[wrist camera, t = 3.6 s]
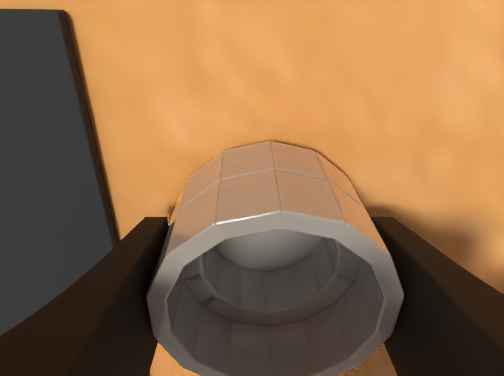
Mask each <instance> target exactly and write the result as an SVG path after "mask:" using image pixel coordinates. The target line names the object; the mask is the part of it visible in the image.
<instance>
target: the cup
mask: <svg viewBox="0 0 504 376" xmlns="http://www.w3.org/2000/svg"><path fill="white" fill-rule="evenodd" d="M146 295H147V297H146V301H147V306H148V311H149V316H150V321H151V326H152V331H153V336H154V337H155V339H156V340H157V341H158V342H159V343H160V344H161V345H162V346H163V347H164V348H165V350H166V351H167V352H168V353H169V354H170V355H171V356H172V357H173V358H174V359H175V360H176V361H177V362H178V363H179V364H180V366H183V368H185V369H188V370H190V371H192V372H194V373H197V374H199V375H201V376H337V375H339V374H342V373H344V372H346V371H348V370H351V369H353V368H355V367H357V366H359V365H360V364H362V363H363V362H364V361H365V360H366V359H367V358H368V357H370V356H371V355H372V354H373V353H374V352H375V351H376V350H377V349H378V348H379V347H380V346H381V345H382V344H383V343H384V342H385V341H386V340H387V339H388V338H389V337H390V336H391V334H392V333H393V330H394V327H395V324H396V321H397V318H398V315H399V312H400V309H401V306H402V303H403V299H404V291H403V288H402V286H401V283H400V280H399V277H398V274H397V271H396V268H395V265H394V262H393V259H392V257H391V254H390V253H389V251H388V249H387V247H386V245H385V244H384V242H383V240H382V238H381V236H380V234H379V233H378V231H377V229H376V227H375V225H374V224H373V222H372V220H371V218H370V216H369V215H368V213H367V211H366V210H365V208H364V206H363V204H362V202H361V200H360V199H359V197H358V195H357V193H356V191H355V190H354V188H353V186H352V184H351V182H350V180H349V179H348V178H347V176H346V175H345V174H344V173H343V172H341V171H340V170H339V169H338V168H336V167H335V166H334V165H333V164H331V163H330V162H329V161H328V160H327V159H325V158H324V157H323V156H322V155H320V154H319V153H317V152H315V151H314V150H311V149H306V148H301V147H297V146H292V145H288V144H283V143H279V142H274V141H271V142H270V141H265V142H260V143H255V144H250V145H245V146H241V147H236V148H231V149H226V150H224V151H223V152H221V153H219V154H218V155H217V156H215V157H214V158H213V159H211V160H210V161H209V162H207V163H206V164H205V165H203V166H202V167H201V168H199V169H198V170H197V171H195V172H194V173H193V174H191V176H190V177H189V178H188V179H187V181H186V183H185V186H184V188H183V190H182V192H181V194H180V196H179V199H178V201H177V203H176V205H175V207H174V210H173V213H172V216H171V219H170V222H169V226H168V229H167V232H166V235H165V238H164V241H163V245H162V247H161V250H160V254H159V257H158V260H157V263H156V266H155V269H154V272H153V276H152V279H151V282H150V285H149V288H148V291H147V294H146Z"/></svg>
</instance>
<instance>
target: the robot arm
mask: <svg viewBox="0 0 504 376" xmlns="http://www.w3.org/2000/svg"><path fill="white" fill-rule="evenodd" d="M370 218H371V220H372V222H373V224H374V225H375V227H376V229H377V231H378V233H379V234H380V236H381V238H382V240H383V242H384V244H385V245H386V247H387V249H388V251H389V253H390V254H391V257H392V259H393V262H394V265H395V268H396V271H397V274H398V277H399V280H400V283H401V286H402V288H403V291H404V299H403V303H402V306H401V309H400V312H399V315H398V318H397V321H396V324H395V327H394V330H393V333H392V334H391V336H390V337H389V338H388V339H387V340H386V341H385V342H384V344H385V347H386V349H387V352H388V354H389V356H390V359H391V361H392V364H393V366H394V368H395V371H396V373H397V375H398V376H504V294H502V293H501V292H499V291H497V290H496V289H494V288H493V287H491V286H490V285H488V284H487V283H485V282H483V281H482V280H480V279H479V278H477V277H476V276H474V275H473V274H471V273H470V272H468V271H467V270H465V269H464V268H462V267H461V266H460V265H458V264H457V263H455V262H454V261H452V260H451V259H450V258H448V257H447V256H445V255H444V254H443V253H441V252H440V251H438V250H437V249H436V248H434V247H433V246H432V245H430V244H429V243H428V242H426V241H425V240H424V239H422V238H421V237H419V236H418V235H417V234H415V233H414V232H413V231H411V230H410V229H409V228H407V227H406V226H404V225H403V224H402V223H400V222H399V221H397V220H396V219H394V218H393V217H370ZM167 229H168V220H167V217H145V218H144V219H143V220H142V221H141V222H140V223H139V224H138V225H137V226H136V227H135V228H133V229H132V230H131V231H130V232H129V233H128V234H127V235H126V236H125V237H124V238H123V239H122V240H121V241H120V242H119V243H118V244H117V245H116V246H115V247H114V248H113V249H112V250H111V251H109V252H108V253H107V254H106V255H105V256H104V257H103V258H102V259H101V260H100V261H99V262H98V263H97V264H95V265H94V266H93V267H92V268H91V269H90V270H88V271H87V272H86V273H85V274H84V275H82V276H81V277H80V278H79V279H78V280H77V281H75V282H74V283H73V284H72V285H71V286H69V287H68V288H67V289H66V290H64V291H63V292H62V293H61V294H59V295H58V296H57V297H55V298H54V299H53V300H51V301H50V302H49V303H47V304H46V305H45V306H43V307H42V308H40V309H39V310H38V311H36V312H35V313H34V314H32V315H31V316H29V317H28V318H26V319H25V320H24V321H22V322H21V323H19V324H18V325H16V326H15V327H13V328H11V329H10V330H8V331H7V332H5V333H4V334H2V335H0V376H148V374H149V371H150V367H151V364H152V360H153V357H154V354H155V350H156V347H157V343H158V341H157V340H156V339H155V337H154V336H153V331H152V326H151V321H150V316H149V311H148V306H147V301H146V297H147V295H146V294H147V291H148V288H149V285H150V282H151V279H152V276H153V272H154V269H155V266H156V263H157V260H158V257H159V254H160V250H161V247H162V245H163V241H164V238H165V235H166V232H167Z"/></svg>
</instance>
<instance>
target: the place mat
mask: <svg viewBox="0 0 504 376" xmlns="http://www.w3.org/2000/svg"><path fill="white" fill-rule="evenodd" d="M117 244H118V243H117V239H116V234H115V230H114V226H113V221H112V217H111V212H110V208H109V203H108V199H107V195H106V190H105V186H104V181H103V177H102V173H101V168H100V164H99V159H98V155H97V151H96V146H95V142H94V137H93V133H92V128H91V124H90V120H89V115H88V111H87V106H86V102H85V98H84V93H83V89H82V84H81V80H80V76H79V71H78V67H77V62H76V58H75V53H74V49H73V45H72V40H71V36H70V31H69V27H68V23H67V18H66V14H65V11H64V10H42V9H0V335H2V334H4V333H5V332H7V331H8V330H10V329H11V328H13V327H15V326H16V325H18V324H19V323H21V322H22V321H24V320H25V319H26V318H28V317H29V316H31V315H32V314H34V313H35V312H36V311H38V310H39V309H40V308H42V307H43V306H45V305H46V304H47V303H49V302H50V301H51V300H53V299H54V298H55V297H57V296H58V295H59V294H61V293H62V292H63V291H64V290H66V289H67V288H68V287H69V286H71V285H72V284H73V283H74V282H75V281H77V280H78V279H79V278H80V277H81V276H82V275H84V274H85V273H86V272H87V271H88V270H90V269H91V268H92V267H93V266H94V265H95V264H97V263H98V262H99V261H100V260H101V259H102V258H103V257H104V256H105V255H106V254H107V253H108V252H109V251H111V250H112V249H113V248H114V247H115V246H116V245H117Z"/></svg>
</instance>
